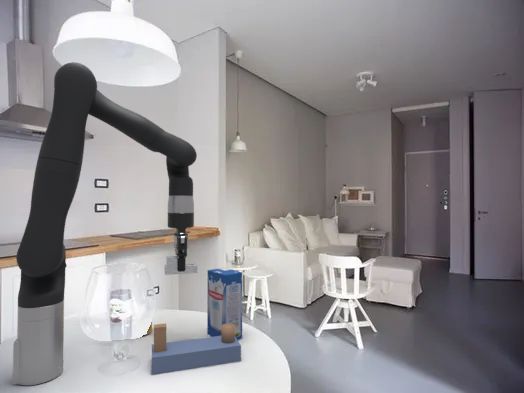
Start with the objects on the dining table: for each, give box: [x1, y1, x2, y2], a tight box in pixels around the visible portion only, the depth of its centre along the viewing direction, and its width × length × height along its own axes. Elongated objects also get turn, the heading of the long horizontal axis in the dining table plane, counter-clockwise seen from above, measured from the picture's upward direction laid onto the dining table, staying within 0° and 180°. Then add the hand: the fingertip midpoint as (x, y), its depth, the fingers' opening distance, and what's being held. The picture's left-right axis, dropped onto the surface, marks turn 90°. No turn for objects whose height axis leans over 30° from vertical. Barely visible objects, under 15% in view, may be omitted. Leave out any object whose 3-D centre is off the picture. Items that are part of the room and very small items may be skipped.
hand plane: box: [150, 322, 242, 376], centre depth 86 cm, size 22×8×10 cm, turn 108°
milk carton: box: [206, 267, 243, 341], centre depth 102 cm, size 10×6×20 cm, turn 41°
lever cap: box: [164, 255, 198, 276], centre depth 97 cm, size 9×5×4 cm, turn 108°
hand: (180, 269), depth 97 cm, fingers closed on lever cap, 5 cm apart
